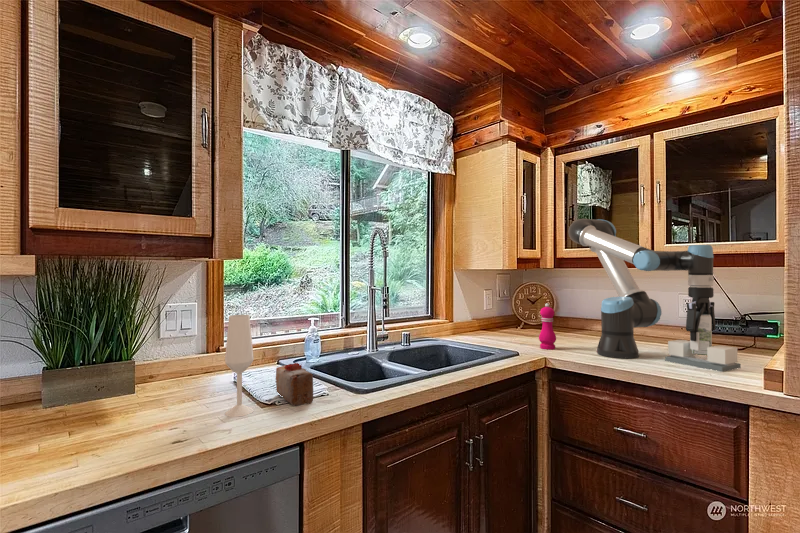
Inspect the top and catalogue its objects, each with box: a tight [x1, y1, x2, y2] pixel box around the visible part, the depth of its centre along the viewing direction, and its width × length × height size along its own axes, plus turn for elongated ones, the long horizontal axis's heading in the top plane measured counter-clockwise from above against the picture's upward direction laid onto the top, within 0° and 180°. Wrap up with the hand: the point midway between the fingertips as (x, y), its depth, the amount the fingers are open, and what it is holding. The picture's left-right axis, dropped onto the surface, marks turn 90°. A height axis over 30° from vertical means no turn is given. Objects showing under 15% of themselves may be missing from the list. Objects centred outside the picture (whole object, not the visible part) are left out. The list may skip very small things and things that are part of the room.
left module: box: [667, 339, 697, 357], centre depth 157 cm, size 6×8×5 cm
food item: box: [275, 362, 314, 407], centre depth 113 cm, size 14×8×10 cm, turn 36°
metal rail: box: [670, 355, 736, 366], centre depth 151 cm, size 19×5×1 cm, turn 27°
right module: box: [706, 344, 739, 364], centre depth 145 cm, size 6×8×5 cm
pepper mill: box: [538, 302, 557, 351], centre depth 182 cm, size 7×7×20 cm
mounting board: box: [664, 355, 741, 373], centre depth 151 cm, size 19×12×2 cm, turn 27°
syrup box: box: [692, 314, 712, 356], centre depth 151 cm, size 6×6×14 cm
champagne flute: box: [224, 314, 255, 418], centre depth 102 cm, size 7×7×24 cm
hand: (701, 348), depth 151 cm, fingers closed on syrup box, 7 cm apart
